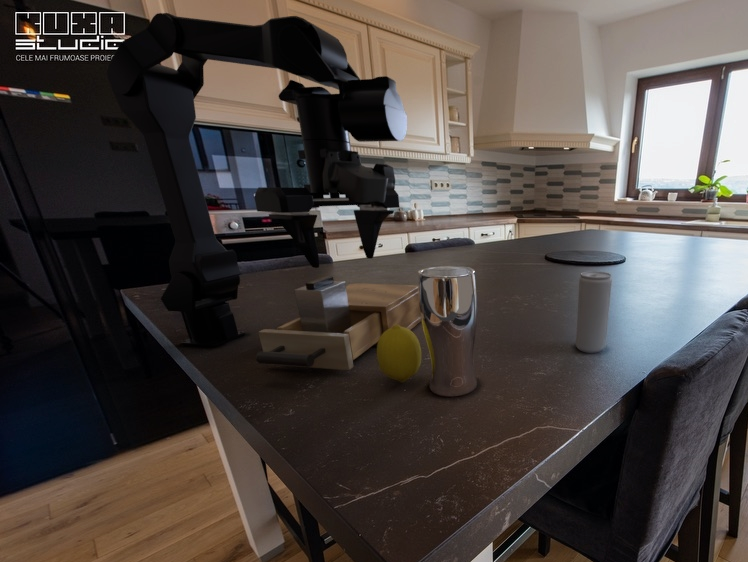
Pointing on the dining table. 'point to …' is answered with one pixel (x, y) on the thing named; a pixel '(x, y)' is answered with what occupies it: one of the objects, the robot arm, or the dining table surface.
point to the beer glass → (449, 327)
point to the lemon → (399, 353)
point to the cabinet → (387, 303)
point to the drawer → (320, 343)
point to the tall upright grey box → (323, 306)
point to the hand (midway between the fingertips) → (344, 262)
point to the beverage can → (593, 311)
